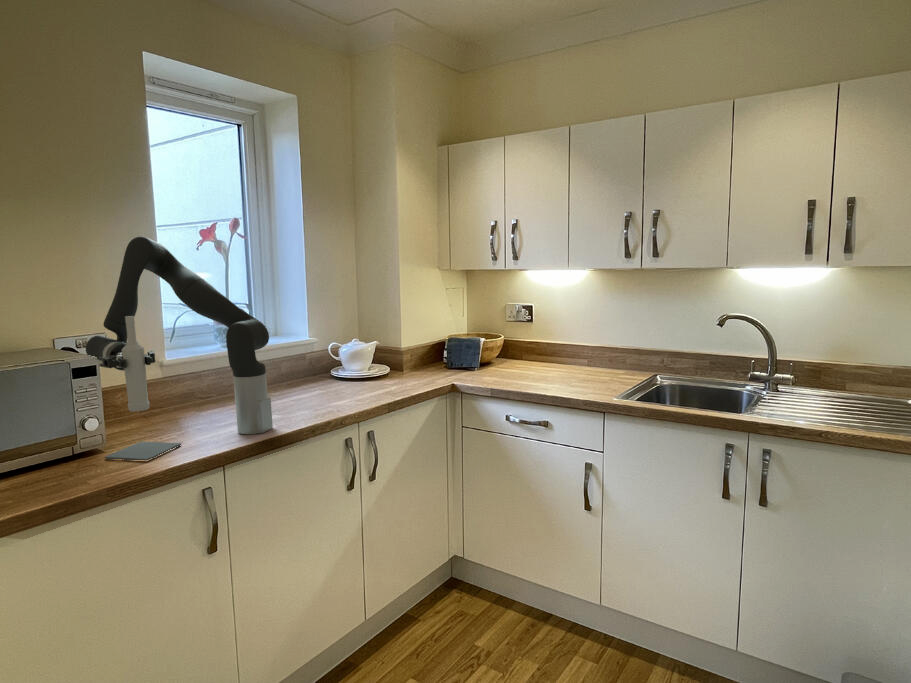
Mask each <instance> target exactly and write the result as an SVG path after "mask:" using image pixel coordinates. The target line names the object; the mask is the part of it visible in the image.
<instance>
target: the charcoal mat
mask: <svg viewBox="0 0 911 683" xmlns="http://www.w3.org/2000/svg"><path fill="white" fill-rule="evenodd" d="M180 445H181V446H182V443H181V442H165V441H163V442H160V441H159V442H158V441H139V442H137V443H134V444H132V445H129V446H128V447H125V448H122V449H120V450H117V451H115V452H113V453H110V454H108V455H106V456H104V459H105V458H106V459H122V460H123V459H124V460H149V459H151V458H154V457H156V456H158V455H160V454H162V453H164V452H166V451H168V450H170V449H173V448H175V447H177V446H180ZM181 446H180V447H181Z"/></svg>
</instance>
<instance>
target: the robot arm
mask: <svg viewBox="0 0 911 683" xmlns="http://www.w3.org/2000/svg"><path fill="white" fill-rule="evenodd" d="M122 260H123V261H122V263H121V264H122V266H121V268H120V273H119V278H118V282H117V286H116V289H115V294H114V296H113V299H112V301H111V304H110V307H109V309H108V311H107V313H106V315H105V319H104V321H103V323H102V324H103V327H104V329H106V330H109V331H110V332H112V333H114V334H115V335H116V339H113V338H110V337H106V336H102V335H94V336H92V337H91V338H89V339H88V341H87V342H86V343H85V344H86V345H85V353H86V355H87V356H88V355H91V356H95V357H97V359H96V360H97V361H98V364H99V365H98V366H99V367H102V368H107V369H113V368H114V369H116V370H118V371H122V372H123V371H124V368H127V366H126V360H125V359H123V356H122V349H123V348H124V347H125V346H126V345H127V342H128V337H127V328H126V320H125V317H126V316H134V318H135V317H136V314H137V311H138V306H139V293H138V291H139V282H140V279H141V277H142V273H143V272H144V270H146V271H148V272H151V273H153V274H154V275H156V276H158V277H159V278H161V279H162V280H164V281H165V282H166V283H167V284H168V285H169V286H170V287H171V289H172V290H173V293H174V294H175V295H176V297H177V298H178V299H179V300H180V302H182V303H183V304H184V305H186V306H187V307H188V308H189V309H191V310H192V311H193V312H195V313H196V314H198V315H200V316H202V317H204V318H207V319H210V320H212V321H215V322H217V323H219V324H221V325H224V326H225V327H227V331H226V335H225V340H226V341H225V342H226V348H227V349H226V350H227V358H228V364H229V366H230V369H231V370H232V376H233V390H234V391H233V392H234V401H235V413H236V427H237V433H238V434H241V435H255V434H264V433H266V432H267V431H270V430H271V429H273V428H274V425H273V413H272V412H273V410H272V398H271V397H270V396H269V395H268V387H267V386H268V384H267V371H266V370H267V369H266V364H265V363H264V362H260V361H259V360H258V359H257V356H256V351H258V350H261V349H263V348H265V347H266V346H267V344H268V343H269V341H270V340H269V339H270V334H269V331H268V329H267V327H266V326H265V324H264V323H263V322H261V321H260V320H259V319H257V318H255V317H254V316H252V315H251V314H249V313H248V312H246V311H244V310H243V309H242V308H240V307H239V306H237V305H236V304H235V303H234V302H232V301H231V300H230V299H229V298H228V297H226V296H225V295H223V294H222V293H221V292H220V291H218V290H217V289H216V288H215V287H214V286H213V285H212V284H210V283H209V282H208V281H207V280H205V279H204V278H203V277H202V276H200V275H199V274H197V273H196V272H194V271H193V270H191V269H190V268H188V267H187V266H185V265H184V264H182V262H180V260H179V259H177V257H175V255H174V254H173V253H171V252H170V250H169V249H168V248H166V247H165V245H163V244H162V243H160V242H158V241H155V240H153V239H151V238H150V237H149V238H148V237H147V236H137V237H134V238H132V239H130V241H129V242H128V244H127V246H126V248H125V252H124V255H123V259H122ZM144 354H145V366H151V364H154V363H156V353H155V350H150V351H148V352H147V353H144ZM124 372H125V371H124ZM268 396H269V397H268ZM272 427H273V428H272Z"/></svg>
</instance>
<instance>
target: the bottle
mask: <svg viewBox="0 0 911 683" xmlns="http://www.w3.org/2000/svg"><path fill="white" fill-rule="evenodd" d="M125 320H126V328H127V337H128V338H127V345H126V346H125V347H124V348H123V349H122V356H123V359H125V360H126V366H127V368H124V376H125V385H126V394H127V400H128V403H127V409H128V411H129V412H134V413H135V412H143V411H146V410H149V409H150V404H151V403H150V401H149V395H148V394H149V393H148V382H147V371H146V368H147V367H146V364H145V354H146V353H145V347H144V346H142V345H141V344H140V343H139V341H137V334H136V325H135V324H136V322H135V317H134V316H126V317H125Z"/></svg>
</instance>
